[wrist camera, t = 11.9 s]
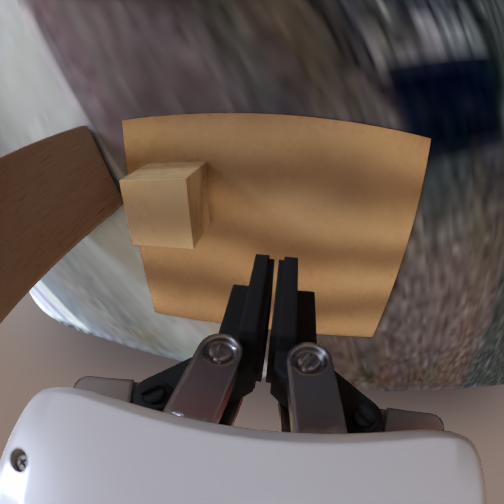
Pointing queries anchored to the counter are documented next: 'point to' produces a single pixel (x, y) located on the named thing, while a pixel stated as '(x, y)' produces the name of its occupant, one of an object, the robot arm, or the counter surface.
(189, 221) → the oak cube
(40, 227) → the block
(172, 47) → the counter surface
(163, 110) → the counter surface
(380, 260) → the wooden board
